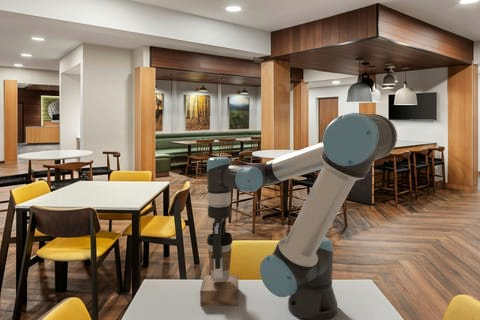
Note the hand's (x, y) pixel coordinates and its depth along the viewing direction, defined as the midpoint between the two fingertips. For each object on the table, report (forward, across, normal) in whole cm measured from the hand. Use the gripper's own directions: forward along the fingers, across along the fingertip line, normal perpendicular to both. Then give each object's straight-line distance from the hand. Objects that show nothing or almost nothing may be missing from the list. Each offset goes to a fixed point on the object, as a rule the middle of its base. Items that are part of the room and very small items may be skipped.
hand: (220, 272), depth 125 cm
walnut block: (+9, 0, 0) cm, 9 cm away
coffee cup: (+2, 0, 0) cm, 2 cm away
